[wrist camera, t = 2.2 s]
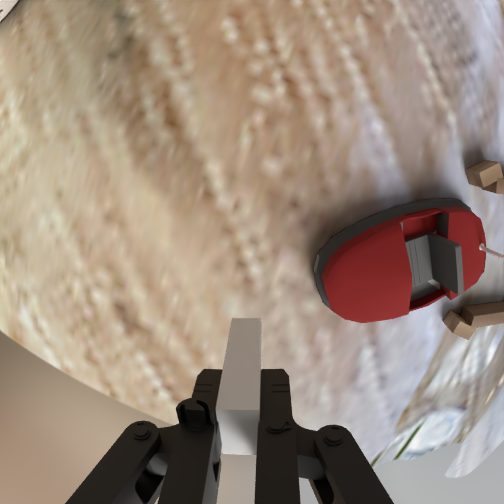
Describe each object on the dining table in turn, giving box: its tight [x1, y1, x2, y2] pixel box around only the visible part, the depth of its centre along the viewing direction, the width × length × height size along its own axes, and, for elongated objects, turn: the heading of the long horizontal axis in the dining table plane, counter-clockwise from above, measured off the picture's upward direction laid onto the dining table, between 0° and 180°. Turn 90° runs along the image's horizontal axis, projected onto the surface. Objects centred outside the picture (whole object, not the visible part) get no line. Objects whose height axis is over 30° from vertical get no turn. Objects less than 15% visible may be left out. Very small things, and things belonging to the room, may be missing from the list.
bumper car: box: [314, 198, 504, 323], centre depth 24 cm, size 10×20×10 cm, turn 109°
